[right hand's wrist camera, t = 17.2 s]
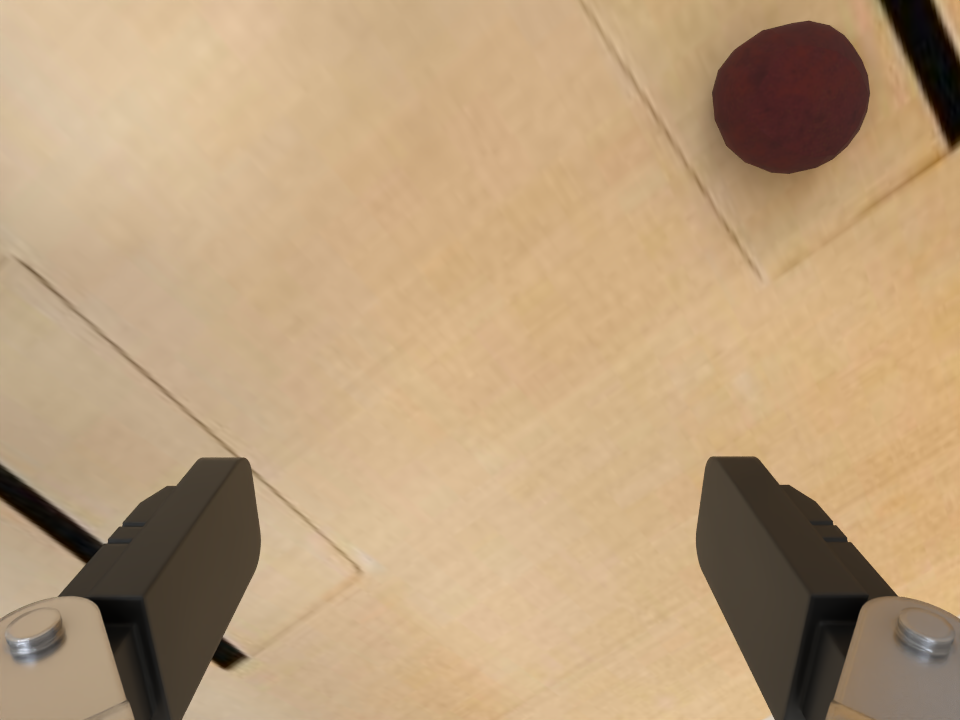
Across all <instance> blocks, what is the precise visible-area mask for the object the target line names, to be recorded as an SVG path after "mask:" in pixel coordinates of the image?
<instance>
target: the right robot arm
mask: <svg viewBox="0 0 960 720" xmlns="http://www.w3.org/2000/svg"><path fill="white" fill-rule="evenodd" d="M260 546H261V535H260V527H259V519H258V512H257V505H256V498H255V491H254V484H253V477H252V470H251V466H250V463H249V461H248V460H247V459H246V458H200V459H198V460H197V461H196V463H195V464H194V465H193V466H192V468H191V469H190V470H189V471H188V472H187V474H186V475H185V476H184V477H183V479H182V480H181V481H180V482H179V483H178V485H177V486H166V487H165V488H163V489H162V490H160V491H159V492H157V493H155V494H154V495H152V496H151V497H149V498H147V499H146V500H144V501H143V502H141V503H140V504H139V505H138V506H137V507H136V508H135V509H134V511H133V512H132V513H131V514H130V515H129V516H128V517H127V518H126V520H125V521H124V522H123V526H122V527H119V528H118V529H117V530H116V531H115V532H114V533H113V534H112V536H111V537H110V538H109V539H108V544H104V545H103V546H102V547H101V548H100V549H99V550H98V552H97V553H96V554H95V555H94V556H93V557H92V558H91V559H90V561H89V562H88V563H87V564H86V565H85V566H84V567H83V569H82V570H81V571H80V572H79V573H78V574H77V575H76V577H75V578H74V579H73V580H72V581H71V582H70V583H69V585H68V586H67V587H66V588H65V589H64V590H63V591H62V592H61V594H60V595H59V596H58V597H55V598H50V599H45V600H41V601H38V602H35V603H32V604H29V605H27V606H24V607H22V608H19V609H17V610H15V611H13V612H11V613H9V614H8V615H6V616H4V617H3V618H1V619H0V720H182V718H183V716H184V714H185V712H186V710H187V708H188V706H189V704H190V702H191V700H192V698H193V696H194V694H195V692H196V690H197V688H198V686H199V684H200V682H201V679H202V677H203V675H204V673H205V671H206V669H207V667H208V665H209V663H210V661H211V659H212V657H213V655H214V653H215V651H216V649H217V647H218V645H219V643H220V641H221V639H222V637H223V635H224V633H225V631H226V629H227V627H228V625H229V623H230V621H231V619H232V617H233V615H234V613H235V611H236V609H237V607H238V605H239V603H240V601H241V599H242V597H243V595H244V593H245V590H246V588H247V586H248V584H249V582H250V580H251V578H252V576H253V574H254V572H255V570H256V567H257V564H258V560H259V555H260ZM696 549H697V556H698V560H699V564H700V567H701V570H702V572H703V574H704V576H705V578H706V580H707V582H708V584H709V586H710V588H711V590H712V592H713V594H714V596H715V598H716V600H717V602H718V605H719V607H720V609H721V611H722V613H723V615H724V617H725V619H726V621H727V623H728V625H729V627H730V629H731V631H732V633H733V635H734V637H735V639H736V641H737V643H738V645H739V648H740V650H741V652H742V654H743V656H744V658H745V660H746V662H747V664H748V666H749V668H750V670H751V672H752V674H753V676H754V678H755V680H756V682H757V684H758V686H759V688H760V691H761V693H762V695H763V697H764V699H765V701H766V703H767V705H768V707H769V709H770V711H771V713H772V715H773V717H774V719H775V720H960V619H959V618H957V617H956V616H954V615H952V614H951V613H949V612H947V611H945V610H943V609H941V608H938V607H936V606H933V605H931V604H928V603H925V602H922V601H919V600H915V599H910V598H905V597H898V596H897V595H896V593H895V592H894V591H893V590H892V589H891V588H890V586H889V585H888V584H887V583H886V582H885V581H884V580H883V578H882V577H881V576H880V575H879V574H878V573H877V572H876V570H875V569H874V568H873V567H872V566H871V565H870V563H869V562H868V561H867V560H866V559H865V558H864V557H863V555H862V554H861V553H860V552H859V551H858V550H857V549H856V547H855V546H854V545H853V544H852V543H851V542H848V541H847V537H846V536H845V535H844V534H843V532H842V531H841V530H840V529H839V528H838V527H837V526H836V525H833V521H832V520H831V519H830V518H829V516H828V515H827V514H826V513H825V512H824V511H823V510H822V508H821V507H820V506H819V505H818V504H817V503H816V502H815V501H814V500H812V499H811V498H809V497H807V496H806V495H804V494H803V493H801V492H799V491H798V490H796V489H795V488H793V487H791V486H790V485H779V484H778V482H777V481H776V480H775V479H774V477H773V476H772V475H771V474H770V472H769V471H768V470H767V469H766V468H765V466H764V465H763V464H762V463H761V461H760V460H759V459H758V458H756V457H710V458H709V460H708V461H707V464H706V467H705V473H704V480H703V487H702V494H701V501H700V509H699V516H698V523H697V531H696Z"/></svg>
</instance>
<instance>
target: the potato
mask: <svg viewBox="0 0 960 720" xmlns="http://www.w3.org/2000/svg"><path fill="white" fill-rule="evenodd" d="M712 95H713V105H714V116H715V121H716V123H717V126H718V128H719V130H720V132H721V135H722V137H723V139H724V141H725V144H726V146H727V147H729V148H730V149H731V150H732V151H733V152H734V153H735V154H736V155H737V156H739V157H740V158H741V159H742V160H743V161H744V162H746V163H748V164H751V165H754V166H757V167H759V168H762V169H764V170H766V171H769V172H772V173H786V174H790V173H795V172H799V171H804V170H808V169H812V168H816V167H818V166H820V165H822V164H824V163H826V162H828V161H830V160H832V159H833V158H835V157H836V156H837V155H838V154H839V153H840V152H841V151H843V150H844V149H845V148H846V147H847V146H848V145H849V143H850V142H851V141H852V139H853V138H854V137H855V135H856V134H857V133H858V131H859V130H860V127H861V125H862V122H863V120H864V118H865V115H866V113H867V109H868V102H869V96H870V90H869V81H868V75H867V72H866V69H865V67H864V64H863V62H862V59H861V58H860V56H859V55H858V53H857V52H856V50H855V48H854V47H853V45H852V44H851V43H850V42H849V41H848V39H847V38H846V37H845V36H844V35H843V34H842V33H840V32H839V31H837V30H836V29H834V28H833V27H831V26H830V25H825V24H821V23H816V22H812V21H804V22H797V23H791V24H787V25H783V26H779V27H775V28H771V29H767V30H763V31H761V32H760V33H758V34H757V35H755V36H754V37H752V38H751V39H749V40H748V41H747V42H745V43H744V44H742V45H741V46H739V47H738V48H737V49H735V50H734V51H733V52H732V53H731V55H730V56H729V57H728V59H727V60H726V61H725V63H724V64H723V65H722V66H721V68H720V69H719V70H718V73H717V77H716V81H715V84H714V88H713V92H712Z"/></svg>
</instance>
